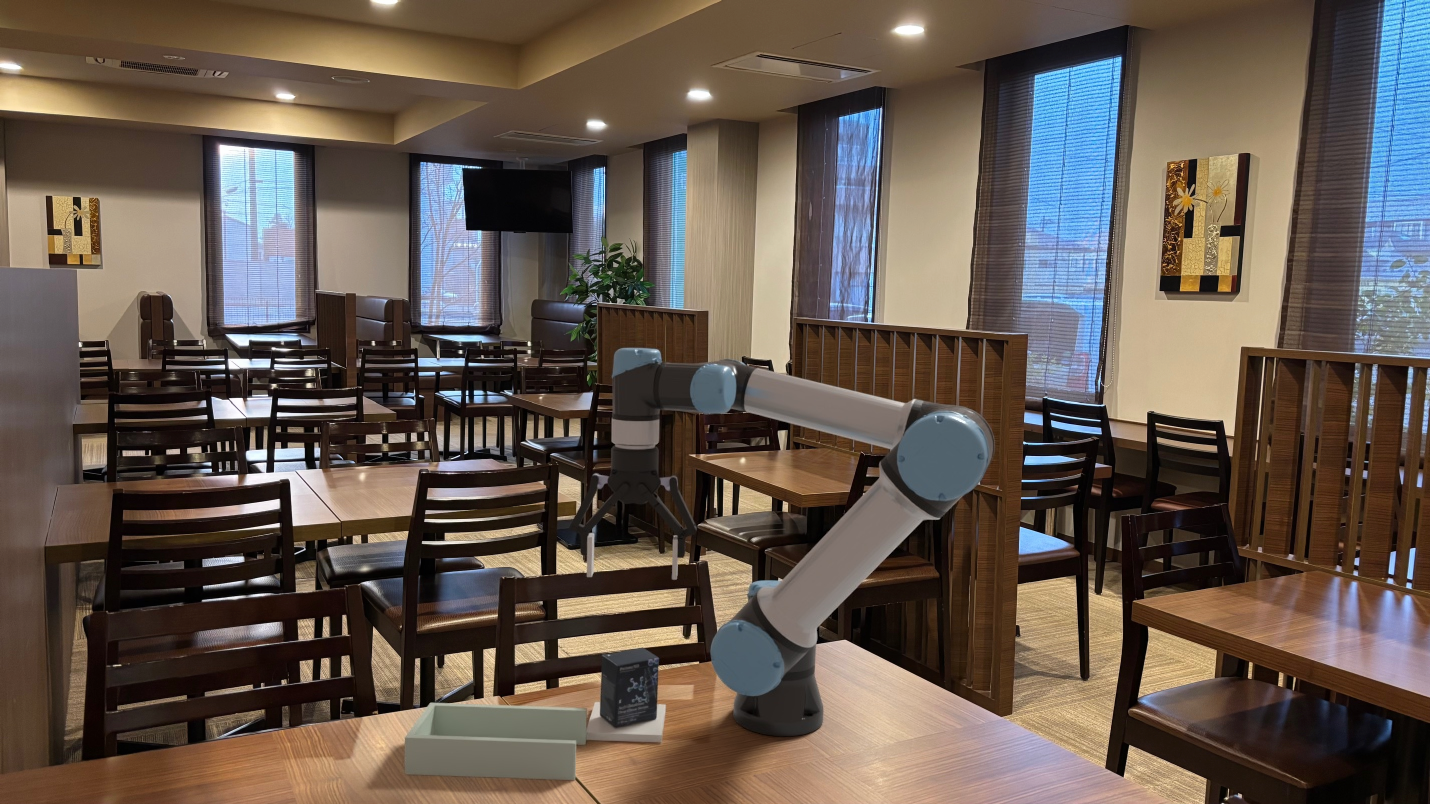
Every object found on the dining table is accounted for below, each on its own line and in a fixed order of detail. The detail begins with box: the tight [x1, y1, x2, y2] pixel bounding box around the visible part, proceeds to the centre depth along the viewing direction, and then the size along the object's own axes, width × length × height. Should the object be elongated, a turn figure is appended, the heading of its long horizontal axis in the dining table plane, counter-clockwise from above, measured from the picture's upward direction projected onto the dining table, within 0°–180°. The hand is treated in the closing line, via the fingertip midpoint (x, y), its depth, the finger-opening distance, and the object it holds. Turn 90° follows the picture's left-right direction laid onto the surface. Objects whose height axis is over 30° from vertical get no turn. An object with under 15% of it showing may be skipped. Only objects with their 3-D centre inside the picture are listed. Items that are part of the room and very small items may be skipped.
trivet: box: [586, 701, 667, 744], centre depth 161 cm, size 12×12×1 cm
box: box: [599, 647, 660, 728], centre depth 161 cm, size 8×6×11 cm
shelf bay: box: [404, 702, 588, 781], centre depth 148 cm, size 24×12×6 cm, turn 90°
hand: (632, 576), depth 159 cm, fingers open, 13 cm apart
